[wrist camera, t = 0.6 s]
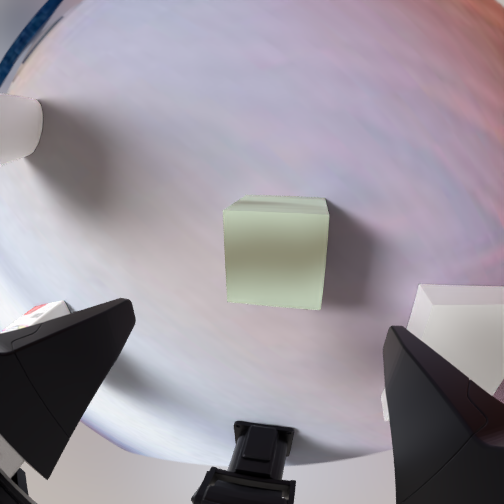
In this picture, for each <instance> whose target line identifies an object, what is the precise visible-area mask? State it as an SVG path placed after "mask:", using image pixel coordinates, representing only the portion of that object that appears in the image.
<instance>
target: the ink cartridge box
mask: <svg viewBox="0 0 504 504" xmlns="http://www.w3.org/2000/svg"><path fill="white" fill-rule="evenodd" d="M68 314H71V313H70V311H69V309H68V307H67V305H66V303H65V302H64V301H63V300H62V301H57V302H53V303H48V304H44V305H40V306H35V307H34V308H33V309H31V310H30V311H28V312H27V313H26V314H24V315H23V316H21V317H20V318H19V319H17V320H16V321H15V322H13V323H12V324H11V325H9V326H8V327H7V328H5V329H4V330H3V331H1V332H0V334H1V333H5V332H9V331H13V330H17V329H21V328H25V327H28V326H32V325H35V324H38V323H41V322H45V321H48V320H51V319H55V318H58V317H61V316H64V315H68Z"/></svg>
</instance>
